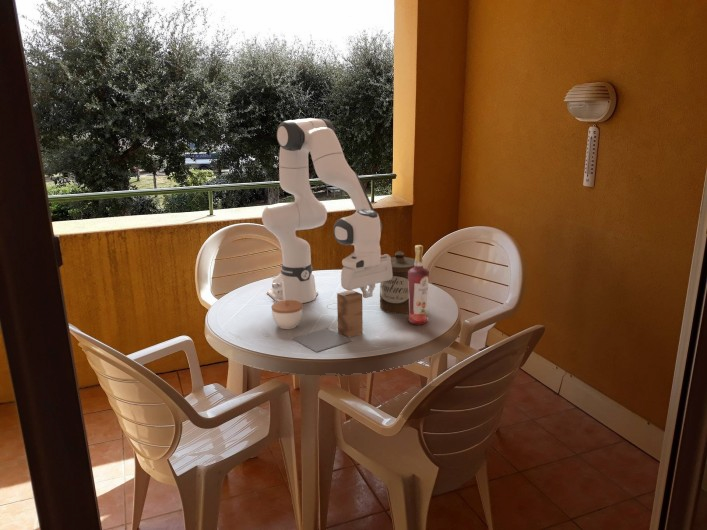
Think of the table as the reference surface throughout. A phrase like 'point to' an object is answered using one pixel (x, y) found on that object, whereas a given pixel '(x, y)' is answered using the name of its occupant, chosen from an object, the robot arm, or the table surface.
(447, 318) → the table surface
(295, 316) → the lidded jar
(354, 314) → the walnut block
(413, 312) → the liquor
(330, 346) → the slate mat
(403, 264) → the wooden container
